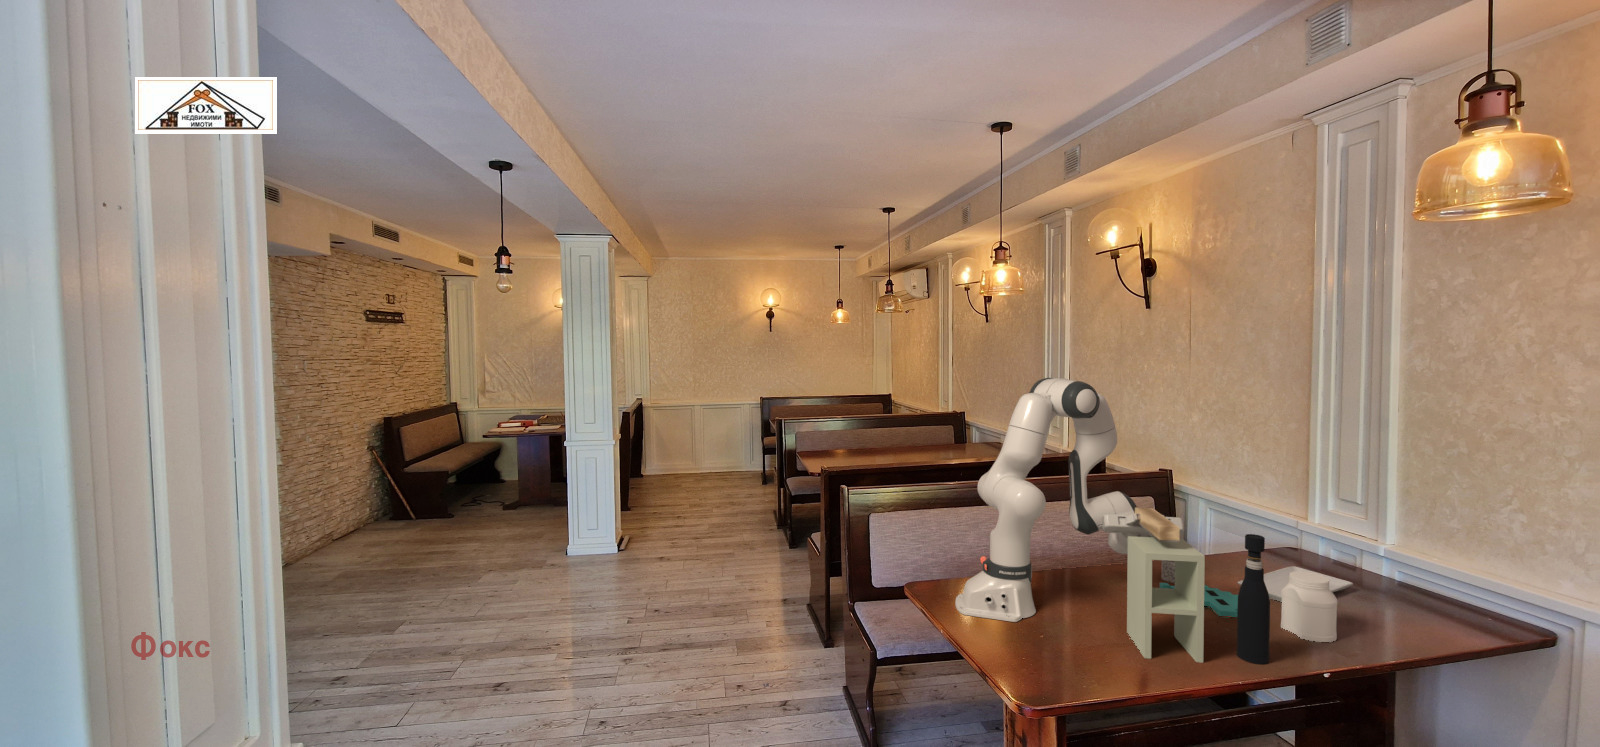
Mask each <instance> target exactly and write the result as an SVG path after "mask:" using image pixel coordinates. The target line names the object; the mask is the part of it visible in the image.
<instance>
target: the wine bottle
mask: <svg viewBox="0 0 1600 747" xmlns="http://www.w3.org/2000/svg"><path fill="white" fill-rule="evenodd" d="M1265 540H1266V538H1265V537H1264V536H1263V535H1260V534H1255V533H1254V534H1253V533H1249V534H1247V533H1246V534H1245V536H1244V548H1245V550H1247V557H1248V558H1246V561H1245V562H1246V565H1245V566H1244V578H1243V579H1242V580H1243V582H1242V584H1241V585H1240V587H1239V591H1238V594H1237V595H1238V611H1237V618H1236V619H1237V623H1236V625H1237V626H1236V627H1237V628H1236V630H1237V631H1236V656H1237V657H1238V658H1239V659H1240V660H1243V661H1245V662H1247V663H1250V664H1255V665H1267V664H1269V662H1270V634H1271V632H1270V630H1271V629H1270V628H1271V624H1270V622H1271V620H1270V619H1271V601H1270V600H1271V599H1269V594H1268V591H1267V588H1266V585H1265V583H1264V574H1265V569H1264V568H1263V567H1264V566H1263V563H1264V562H1263V560H1261V559H1262V553H1263V552H1265V544H1266V541H1265Z"/></svg>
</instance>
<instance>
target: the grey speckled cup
mask: <svg viewBox="0 0 1600 747" xmlns="http://www.w3.org/2000/svg"><path fill="white" fill-rule="evenodd" d="M1160 577H1161V580H1162V581H1164V582H1166V581H1167V582H1166V583H1169V582H1171V583H1170V584H1175V561H1169V560H1161V576H1160Z"/></svg>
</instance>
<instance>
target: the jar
mask: <svg viewBox="0 0 1600 747" xmlns="http://www.w3.org/2000/svg"><path fill="white" fill-rule="evenodd" d="M1289 577H1290V578H1289V579H1290V580H1289V583H1288V584H1287V585H1286V586H1285V587H1284V588H1283V589H1282V590H1281V595H1282V603H1281V614H1280V615H1281V616H1280V617H1281V621H1280V628H1281V629H1282V628H1283V629H1282V630H1284V629H1285V630H1284V631H1286V630H1288V631H1287V632H1289V631H1290V632H1289V633H1291V632H1292V633H1291V634H1293V633H1294V634H1296V635H1297V636H1298V637H1297V636H1296V635H1295V636H1296V637H1297V638H1299V637H1300V638H1299V639H1301V640H1303V639H1305V640H1304V641H1308V640H1309V641H1308V642H1313V641H1315V642H1314V643H1321V642H1329V643H1333V641H1334V642H1335V641H1336V640H1337V638H1338V637H1337V635H1338V633H1337V620H1338V619H1337V617H1338V616H1337V611H1338V609H1337V608H1338V599H1337V597H1336V595H1335V594H1334V592H1333V593H1332V592H1331V590H1330V589H1329V579H1328V578H1326V577H1324V576H1322V575H1318V574H1314V573H1309V572H1300V571H1296V572H1291V573H1290V574H1289ZM1294 634H1293V635H1294Z"/></svg>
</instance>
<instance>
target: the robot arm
mask: <svg viewBox="0 0 1600 747" xmlns="http://www.w3.org/2000/svg"><path fill="white" fill-rule="evenodd" d="M1110 408H1111V407H1110V406H1109V404H1108V401H1107V399H1106V398H1105V397H1104V395H1102V394H1100V393H1099V392H1098V391H1097V390H1095V387H1093V386H1092V385H1090V384H1088V383H1087V382H1084V381H1081V380H1080V381H1079V380H1077V381H1076V380H1072V379H1068V378H1061V377H1058V378H1057V377H1055V378H1053V377H1046V378H1045V377H1044V378H1041V379H1039V380H1037V381H1035V383H1034V384H1033V385H1032V386H1031V388H1030V390H1029V391H1028V393H1025V394H1023V395H1021V396H1020V397H1019V399H1018V401H1017V403H1016V405H1015V408H1014V410H1013V412H1012V414H1011V418H1010V421H1009V424H1008V427H1007V430H1006V433H1005V436H1004V441H1003V443H1002V447H1001V449H1000V451H999V453H998V455H997V458H996V459H995V461H994V462H993V464H992V466H991V467H990V469H988V471H987V472H985V473H984V474H983V475H981V477H980V478H979V480H978V482H977V489H976V490H977V493H978V495H979V497H980V498H981V499H982V500H983V502H985V504H986V505H987V506H989V507H991V508H993V509H995V510H997V511H998V517H997V523H996V524H995V525H996V526H995V527H994V528H992V529H991V531H990V534H989V557H988V558H987V557H986V556H984V555H983V556H981V557H980V563H981V565H982V570H981V571H980V572H978V573H977V574H975V575H974V576H972V577H970V578H969V579H967V581H965V584H964V587H963V590H962V591H963V592H962V593H959V594H958V595H956V597H955V604H954V605H955V608H956V610H957V611H958V612H959V613H960V614H962V615H964V616H971V617H978V618H983V619H993V620H999V621H1006V622H1013V623H1017V622H1019V621H1022V618H1023V619H1026V618H1030V617H1032V616H1034V615H1035V614H1036V613H1037V610H1036V606H1035V602H1034V599H1033V593H1032V586H1031V584H1032V579H1033V578H1032V577H1033V567H1032V563H1031V535H1032V531H1033V529H1034V524H1035V522H1036V521H1037V519H1039V518H1040V517H1041V515H1043V514H1044V511H1045V509H1046V503H1047V501H1046V497H1045V495H1044V492H1043V491H1041V489H1040V488H1038V487H1037V486H1036V485H1035V484H1034V483H1032V482H1030V481H1028V480H1026V479H1027V477H1028V474H1029V473H1030V471H1031V470H1032V469H1033V468H1034V467H1036V466H1037V465H1039V463H1040V462H1041V460H1042V457H1043V453H1044V450H1045V447H1046V443H1047V440H1048V436H1049V433H1050V432H1049V431H1050V427H1051V423H1052V421H1053V420H1054V419H1055V417H1063V418H1071V419H1072V421H1073V427H1074V431H1075V443H1074V446H1073V449H1072V450H1071V452H1069V454H1068V484H1069V486H1068V487H1069V509H1068V511H1069V512H1068V515H1069V520H1070V522H1071V525H1072V527H1073V528H1074V529H1075V530H1076V531H1077V532H1079V533H1082V534H1085V535H1088V536H1089V535H1092V534H1094V533H1097V532H1099V531H1101V530H1102V531H1103V532H1104V533H1108V535H1107V544H1108V546H1109V548H1111V550H1112V551H1114V552H1115V553H1118V554H1121V555H1128V536H1133V537H1154V536H1153V535H1151V534H1150V533H1149V532H1148V531H1147V530H1145V529H1144V528H1143V527H1142V526H1141V525H1140V524H1138V523H1137V522H1139V521H1140V520H1141V517H1140V514H1135V508H1138V507H1137V504H1136V503H1135V501H1134V500H1133V499H1132V498H1131V497H1130V496H1129V495H1127V494H1126V493H1124V492H1123V491H1119V490H1116V491H1111V492H1108V493H1104V494H1101V495H1099V496H1094V497H1091V498H1088V488H1087V487H1088V486H1087V484H1088V483H1087V478H1088V474H1089V473H1090V471H1091V470H1092V469H1093V468H1094V467H1095V466H1096V465H1097V464H1099V463H1100V462H1102V461H1104V460H1105V459H1107V458H1108V457H1109V456H1110V455H1111V454H1112V453H1113V452H1114V451H1115V448H1116V447H1117V444H1118V433H1117V429H1116V424H1115V419H1114V417H1113V413H1112V412H1111V409H1110ZM1162 515H1163V516H1164V517H1166V518H1167V519H1168V520H1170V521H1171V522H1172V523H1174V524H1175V525H1177V526H1178V527H1179V528H1180V535H1181V534H1183V533H1184V532H1185V524H1184V519H1183V518H1182V517H1178V516H1177V517H1175V516H1165V515H1164V514H1162Z"/></svg>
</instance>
